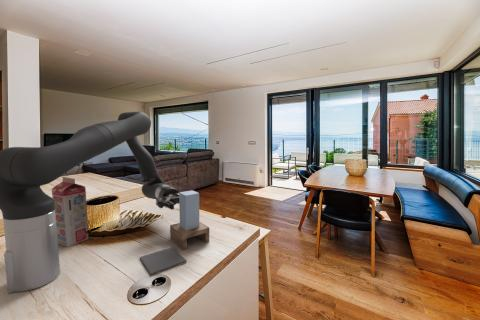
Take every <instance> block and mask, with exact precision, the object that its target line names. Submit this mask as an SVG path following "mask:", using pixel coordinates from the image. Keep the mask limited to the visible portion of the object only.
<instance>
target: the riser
mask: <svg viewBox="0 0 480 320" xmlns="http://www.w3.org/2000/svg"><path fill="white" fill-rule="evenodd" d="M169 233H170V234H169V235H170V237H169V238H170V241H172V242H173V243H174V244H175V245H176V246H178V248H179V249H180V250H181V251H185V250H187V249H188V248H187V247H188V243H187V242H188V239H189V238H192V237H193V238H194V237H198V238H199V239H200V240H201V241H203V242H204V243H208V242H210V227H209V226H208V225H206V224H205V223H203V222H202V221H201V220H199V227H197V228H194V229H190V230H187V231H186V230H185V229H183V228H182V227H181V226H180V222H178V223H174V224H170V225H169Z"/></svg>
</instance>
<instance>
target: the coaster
mask: <svg viewBox="0 0 480 320" xmlns="http://www.w3.org/2000/svg"><path fill="white" fill-rule="evenodd" d="M139 259H140V261H141V263H142V264H143V265H144V267H145V270H147V272H148V273H149V274H150V276H154V275H157V274H158V273H162V272H164V271H166V270H169V269H172V268H175V267H177V266H180V265H182V264H185V263H187V259H186V258H185V257H184V256H183V255H182V254H181V253H180V252H179V251H177V249H176V248H175V247H173V246H170V247H168V248H164V249H161V250H157V251H155V252H152V253H149V254H145V255H142V256H140V257H139Z"/></svg>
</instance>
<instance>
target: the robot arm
mask: <svg viewBox="0 0 480 320" xmlns="http://www.w3.org/2000/svg"><path fill="white" fill-rule="evenodd" d="M151 127H152V121H151V118H150V116H149V115H148V114H147V113H146V112H143V111H130V112H129V111H127V112H122V113H120V114H119V115H118V117H117V120H109V121H103V122H99V123H94V124H91V125H88V126H84V127H83V128H80V129H78V130H77V131H76V132H74V134H73V135H72V136H71V137H70V138H69V139H67V140H65V141H61V142H59V143H56V144H52V145H47V146H41V147H39V146H38V147H34V146H33V147H31V146H29V147H27V146H13V147H12V146H11V147H7V148H3V149H1V150H0V211H1V214H2V221H3V222H2V223H3V233H4V240H5V241H4V243H5V252H4V255H3V256H4V266H5V267H4V269H5V275H6V276H5V278H6V285H7V294H11V293H14V292H15V293H16V292H26V291H30V290H31V291H32V290H34V289H37V288H38V289H39V288H41V287H43V286H45V285H47V284H49V283H51V282H53V281H54V280H55V279H56V278H58V276H59V275H60V274H61V268H60V266H61V264H60V255H59V253H60V252H59V244H58V239H57V226H56V213H55V202H54V199H53V198H52V196H50V195H48V194H46V193H45V191H44V190H42V188H41V186H46V185H48V184H50V183H52V182H54V181H55V180H57V179H59V178H60V177H63V175H65V174H66V173H68V172H69V171H71V170H73V169H75V168H76V167H77V166H79V165H80V164H83V163H85V162H88V161H89V160H91V159H93V158H95V157H98V156H100V155H102V154H104V153H106V152H108V151H109V150H112V149H113V148H116V147H117V146H119V145H122V144H123V143H125V142H126V144H127V146H128V148H129V150H130V151H131V153H132V155H133V157H134V159H135V161H136V164H137V167H138V170H139V172H140V175H141V178H142V179H143V180H149V181H147V182H145V183H143V185H142V186H141V193H142V195H144V197H146V198H148V199H155V205H156V206H157V207H158V208H159V209H163V208H164V207H165V208H167V209H169V210H175V205H179V192H180V191H179V189H178V188H175V187H174V186H171V185H168V184H166V183H165V181H164V179H163V177H161V175H160V174H159V171H158V169H157V166H156V163H155V160H154V158H153V155H152V154H151V153H150V152H149V151H148V149H146V148H145V146H144V145H142V142H141V141H140V140H139V138H138V136H141V135H145V134H146V133H148V132H149V131H150V129H151Z"/></svg>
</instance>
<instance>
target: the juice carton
mask: <svg viewBox="0 0 480 320" xmlns="http://www.w3.org/2000/svg"><path fill="white" fill-rule="evenodd" d="M86 191H87V190H86V186H84V185H82V184H78V183H76V179H75V178H72V177H65V176H62V181H61V182H60V183H58V184H56V185H54V186H53V187H52V188H51V195H52V196H51V198H53V199H54V202H55V213H56V226H57V239H58V245H60V246H63V247H66V248H69V247H71V246H74V245H76V244H79V243H82V242H84V241H86V240H89V233H88V234H86V233H85V231H88V221H87V213H88V209H87V207H88V206H87V192H86ZM88 232H89V231H88Z"/></svg>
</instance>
